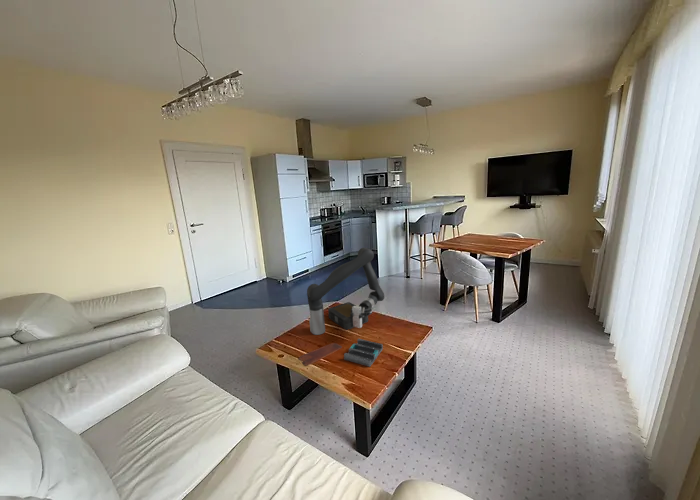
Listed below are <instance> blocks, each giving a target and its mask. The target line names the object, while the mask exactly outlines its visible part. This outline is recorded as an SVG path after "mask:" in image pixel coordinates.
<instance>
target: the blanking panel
mask: <svg viewBox="0 0 700 500" xmlns="http://www.w3.org/2000/svg"><path fill="white" fill-rule="evenodd" d="M352 313H353V327H354V328H358V329H362V327H363V324H362V318H360V319H359V315H360V314H361V313H362V311H361V307H359V305H356V306H353V307H352Z"/></svg>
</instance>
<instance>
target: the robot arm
mask: <svg viewBox="0 0 700 500" xmlns="http://www.w3.org/2000/svg"><path fill="white" fill-rule="evenodd" d="M374 257H375V253H374V251H373V250H372V249H369V248H368V247H362V248H360V249H359V250H358V251H357V256H356V257H355V258H354V259H352V260H350V261H347V262H344V263H343V264H341V265H339V266H338V267H336V268H335V269H333V270H332V271H331V272H330V274H329V275H328V277H326V279H325V280H324V281H323V282H321V283H320V284H317V283H312V284H310V285H308V287H307V289H306V295H307V303H308V307H309V320H308V321H309V330H310V333H311V334H312V335H315V336H317V335H322V334H324V333H326V325H325V324H326V323H325V314H324V303H323V300H322V299H323V297H325V296H326V294H327V293H329V292H330V291H331V290H332V289H333V288H335V287H336V286H337V285H339V284H341V283H342V282H343V281H345V280H346V279H347V278H348V277H350V276H352V274H354V273H355V272H357V271H358V270H359V269H361V268H363V271H364V273H365V274H364V275H365V278H366V281H367V284H368V288H369V290H370V293H369V295H368V296H367V297H366V298H365V299H363V301H361V302H360V304H358V306H359V307H361V311H362V313H361V314H360V315H359V319H360V318H362V317H364V316H366V317H367V316H368V317H369V316H370V315H372V314H373V310H372V309H374V307H375V305H377V303H378V302H382V301H384V299H385V292H384V290H383V289H382V288H381V286H380V285H379V280H378V277H377V274H376V272H375V269H374V268H373V266H372V263H371V262H372V260H373V259H374ZM371 290H372V291H371ZM350 316H351V317H353V313H352V309H351V314H350Z"/></svg>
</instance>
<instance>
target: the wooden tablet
mask: <svg viewBox="0 0 700 500" xmlns="http://www.w3.org/2000/svg"><path fill="white" fill-rule="evenodd" d="M342 348H343V346H342V345H340V344H338V343H336V342H333V343H329V344H326V345H324V346H321V347H319V348H317V349H314V350H311V351H309V352H307V353H304V354H303V355H302V354H301V356H299V357H298V360H299V361H300V362H301V363H302V364H303V366H306V367H307V366H309V365H311V364H313V363H314V364H315V363H316V362H318V361H320V360H322V359H324V358H326V357H328V356H330V355H332V354H333V353H336V352H337V351H340V350H341V349H342Z"/></svg>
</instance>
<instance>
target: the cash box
mask: <svg viewBox="0 0 700 500" xmlns="http://www.w3.org/2000/svg"><path fill="white" fill-rule="evenodd" d="M353 306H357V305H355V304H354V303H352V302H350V301H348V302H344V303H340V304H339V305H335V306H332V307H329V308H328V309H327V310H328V311H327V312H328V319H330V321H332V322H334V323H335V324H337V325H338V326H340V327H341V328H342V329H344V330H347V331H348V329H349V330H351V329H353V328H355V327H353V317H351V316H350V314H351V309H352V307H353ZM368 322H369V316H367V317H366V316H364V317H362V325H364V324H366V323H368Z"/></svg>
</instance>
